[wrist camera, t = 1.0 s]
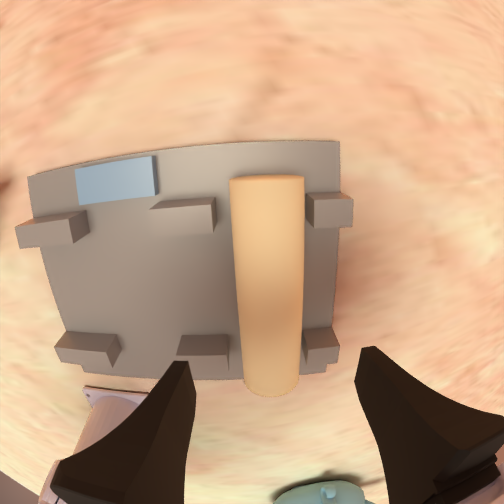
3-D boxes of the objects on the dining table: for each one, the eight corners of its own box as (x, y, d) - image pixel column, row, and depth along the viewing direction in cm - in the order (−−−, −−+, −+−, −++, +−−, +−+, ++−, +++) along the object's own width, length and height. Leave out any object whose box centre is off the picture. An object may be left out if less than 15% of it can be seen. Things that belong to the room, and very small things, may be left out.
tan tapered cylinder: (290, 356, 22) (305, 391, 19) (240, 364, 22) (248, 401, 18) (291, 173, 17) (315, 180, 14) (226, 176, 17) (232, 184, 13)
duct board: (323, 364, 24) (331, 391, 21) (88, 365, 24) (74, 388, 20) (334, 141, 17) (353, 141, 14) (34, 175, 17) (7, 182, 14)
